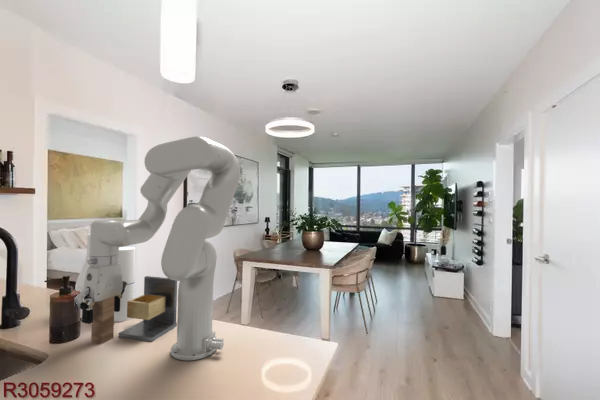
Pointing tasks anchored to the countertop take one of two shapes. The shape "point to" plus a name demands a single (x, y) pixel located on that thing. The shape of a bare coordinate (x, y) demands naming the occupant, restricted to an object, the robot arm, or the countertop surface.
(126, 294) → the cylindrical container
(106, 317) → the rail post
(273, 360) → the countertop surface
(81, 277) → the wine bottle
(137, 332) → the cup bracket
